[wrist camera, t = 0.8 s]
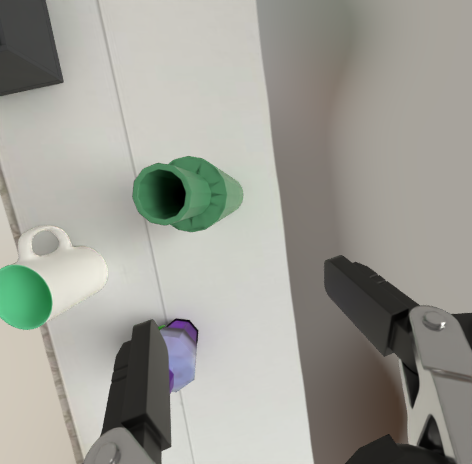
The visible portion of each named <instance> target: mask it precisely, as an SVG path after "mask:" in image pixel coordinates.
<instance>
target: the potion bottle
mask: <svg viewBox="0 0 472 464" xmlns="http://www.w3.org/2000/svg"><path fill="white" fill-rule="evenodd" d="M165 326H166V325H161V326H159V327H158V329H159V331H160V333H161V335H162V336H163V338H164V340H165V343H166V345H167V349H168V355H169V385H170V393H171V392H177V391H179V390H180V389H182V388H183V387H184V386H186V385H187V384H189V383H190V382H191V381H193V380H194V376H195V365H196V351H197V341H198V330H197V328H196V327H195V326H194V325H193V324H192V323H191V322H190V320H184V319H175V320H174V321H172V322H171V323H170V324H168V325H167V326H166V327H165ZM162 328H163V329H162Z"/></svg>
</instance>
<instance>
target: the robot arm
mask: <svg viewBox="0 0 472 464" xmlns="http://www.w3.org/2000/svg"><path fill="white" fill-rule="evenodd" d="M324 285H325V289H326V292H327V294H328V296H329V297H330V298H331V299H332V300H333V301H334V302H335V304H336V305H337V306H338V307H339V308H340V309H341V310H342V311H343V312H344V314H346V316H347V317H348V318H349V319H350V320H351V321H352V322H353V323H354V324H355V326H356V327H357V328H358V329H359V330H360V331H361V332H362V333H363V334H364V335H365V336H366V338H367V339H368V340H369V341H370V342H371V343H372V344H373V345H374V346H375V347H376V349H378V351H379V352H380V353H381V354H382V355H383V356H384V357H385V356H387V355H389V354H392V353H395V354H396V355H397V356H398V357H399V368H400V374H401V380H402V385H403V391H404V396H405V402H406V408H407V415H408V426H407V428H408V429H407V430H408V442H409V444H399V443H397V444H396V443H395V442H394V441H393V439H392V437H391V436H390V435H389V434H388V435H386V436H383V437H381V438H379V439H377V440H375V441H373V442H371V443H369V444H367V445H365V446H363V447H361V448H359V449H358V450H357V451H356V452H355V453H354V455H353V456H352V457H351V458H350V459H349V460H348V461H347V462H346V463H345V464H472V313H462V314H449V313H448V312H446V311H444V310H442V309H439V308H437V307H433V306H426V305H423V306H420V305H419V304H417V303H416V302H414V301H413V300H412V299H411V298H409V297H408V296H406V295H405V294H404V293H402V292H401V291H400V290H398V289H397V288H396V287H394V286H393V285H392V284H390V283H389V282H388V281H387V282H386V281H385V279H383V278H382V277H381V276H380V275H379V276H378V275H377V273H376V272H374V271H373V270H372V269H370V268H369V267H367V266H365V265H362V264H360V263H357V262H354V263H352V262H350V261H349V260H348V259H346V258H345V257H344V256H342V255H339V256H337V257H334V258H331V259H328V260H326V261H325V263H324ZM111 381H112V384H111V386H110V391H109V396H108V402H107V407H106V412H105V418H104V423H103V428H102V432H101V435H100V438H99V439H98V440H97V441H96V442H95V443H94V444H93V445H92V447H91V448H90V450H89V452H88V453H87V455H86V457H85V460H84V462H83V464H161V451H163V450H165V449H168V448H170V447H171V419H170V385H169V355H168V349H167V345H166V343H165V340H164V338H163V336H162V335H161V333H160V331H159V329H158V327H157V325H156V323H155V321H154V320H153V319H151V320H148V321H146V322H143V323H140V324H137V325H134V327H133V332H132V339H131V341H128V342H125V343H123V345H122V346H121V348H120V350H119V352H118V354H117V355H116V359H115V364H114V372H113V375H112V380H111Z"/></svg>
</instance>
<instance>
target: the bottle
mask: <svg viewBox="0 0 472 464" xmlns="http://www.w3.org/2000/svg"><path fill="white" fill-rule="evenodd" d="M132 197H133V200H134V203H135V205H136V208H137V210H138V212H139V213H140V214H141V215H142V216H143V217H145V218H146V219H147V220H148V221H149V222H151V223H155V224H160V225H169V224H170V225H172V226H173V227H175V228H176V229H178V230H183V231H188V232H195V231H200V230H205V229H207V228H208V227H210V226H212V225H213V224H215V223H216V222H218V221H220V220H221V219H223V218H224V217H226V216H227V215H229V214H231V213H232V212H234V211H235V210H237V209H238V208H239V206H240V205H241V203H242V200H243V190H242V187H241V186H240V184H239V183H238V181H236V180H235V179H233V178H232V177H230V176H229V175H227V174H226V173H224V172H223V171H221V170H220V169H218V168H217V167H215V166H214V165H212V164H210V163H209V162H207V161H206V160H204V159H202V158H197V157H191V156H186V157H182V158H178V159H175V160H173V161H172V162H170V163H169V164H168V165H167V164H162V163H156V164H154V165H151V166H149V167H146V168H144V169H143V170H142V171H141V173H140V174H139V175H138V177H137V178H136V179H135V181H134V187H133V196H132Z"/></svg>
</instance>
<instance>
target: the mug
mask: <svg viewBox="0 0 472 464" xmlns="http://www.w3.org/2000/svg"><path fill="white" fill-rule="evenodd" d="M43 230H47V231H50V232H52V233H54V234H55V235H56V237H57V238H58V241H59V246H58V248H57V249H56V250H55V251H54V252H52V253H49V254H47V255H43V256H39V255H36V254H35V253H34V252H33V250H32V240H33V238H34V236H35V235H36V234H37V233H38V232H40V231H43ZM18 255H19V258H18V261H17V262H16V263H14V264H12V265H8V266H5V267H3V268H1V269H0V317H1V319H3V320H4V321H5V322H6V323H8V324H9V325H11V326H13V327H15V328H19V329H24V330H29V329H34V328H38V327H40V326H41V325H43V324H45V323H46V322H48V321H50V320H51V319H53V318H55V317H56V316H58V315H60V314H61V313H63V312H65V311H67V310H68V309H70V308H72V307H73V306H75V305H77V304H78V303H80V302H82V301H83V300H85V299H87V298H88V297H90V296H92V295H93V294H95V293H97V292H98V291H100V290H101V289H102V288H103V287H104V285H105V284H106V282H107V278H108V269H107V265H106V263H105V261H104V259H103V257H102V256H101V255H100V254H99V253H98V252H97V251H95V250H94V249H92V248H89V247H85V246H77V247H73V246H72V244H71V241H70V238H69V236H68V235H67V233H66V232H65V231H64V230H62V229H61V228H59V227H56V226H49V225H45V226H38V227H34V228H31V229H29V230H27V231H26V232H24V233H23V234H22V235H21V237H20V238H19V241H18Z"/></svg>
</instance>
